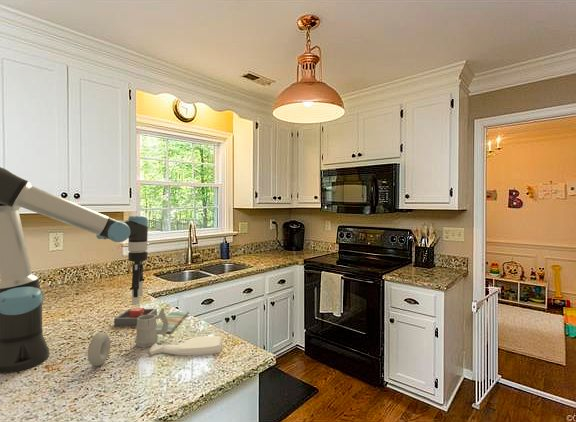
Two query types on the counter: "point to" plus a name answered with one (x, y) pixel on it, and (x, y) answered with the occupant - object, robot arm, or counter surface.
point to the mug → (150, 329)
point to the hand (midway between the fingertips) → (137, 300)
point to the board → (173, 320)
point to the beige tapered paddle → (191, 346)
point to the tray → (126, 321)
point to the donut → (99, 349)
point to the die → (136, 312)
